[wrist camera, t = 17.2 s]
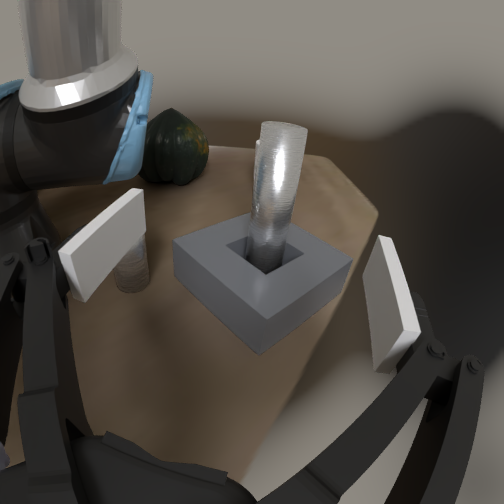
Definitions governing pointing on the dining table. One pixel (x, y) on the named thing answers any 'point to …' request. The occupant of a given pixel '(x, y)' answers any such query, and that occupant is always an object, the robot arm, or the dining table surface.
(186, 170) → the squash
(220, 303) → the charcoal collar block
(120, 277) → the short steel pin
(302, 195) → the dining table surface
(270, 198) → the long steel pin
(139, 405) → the dining table surface
